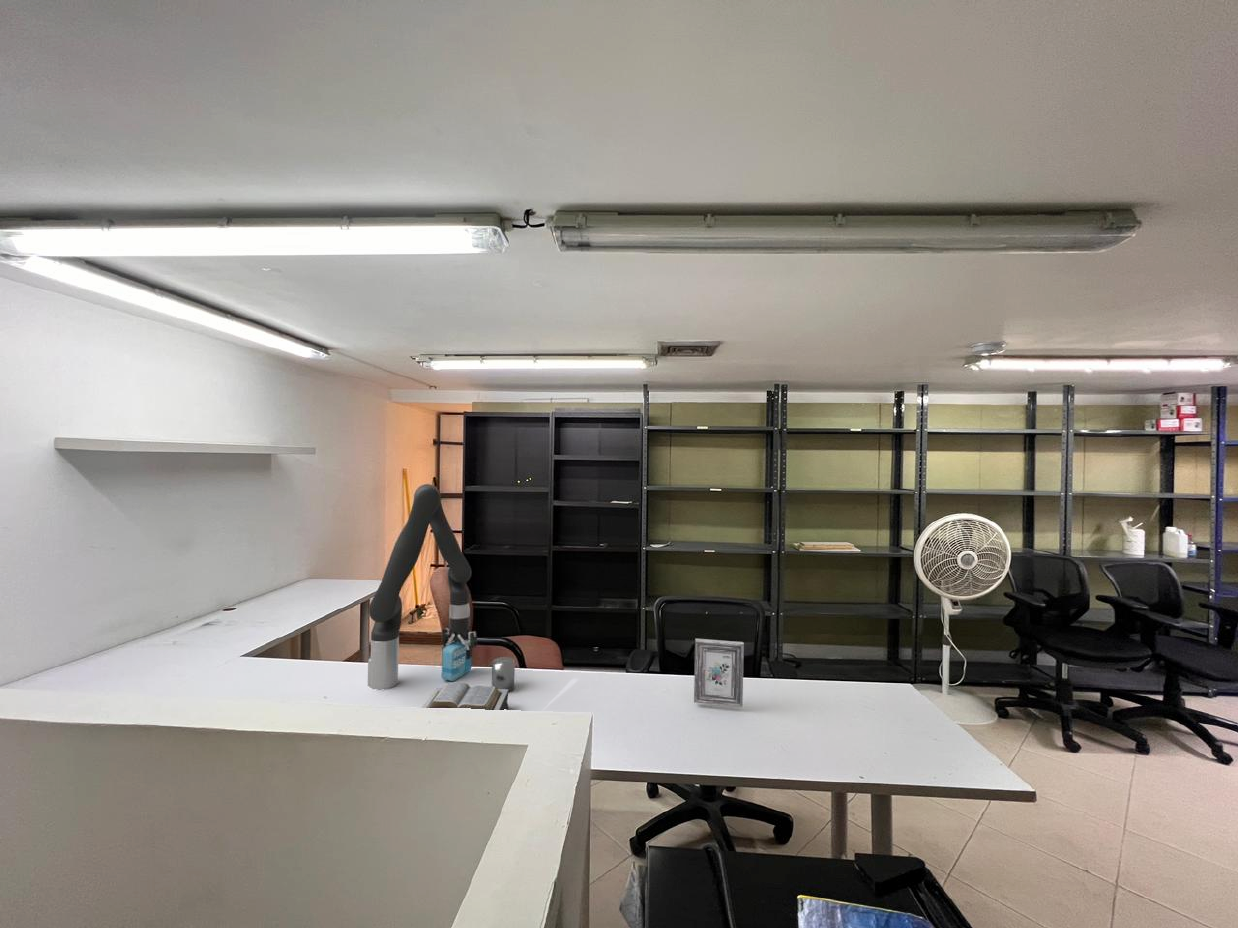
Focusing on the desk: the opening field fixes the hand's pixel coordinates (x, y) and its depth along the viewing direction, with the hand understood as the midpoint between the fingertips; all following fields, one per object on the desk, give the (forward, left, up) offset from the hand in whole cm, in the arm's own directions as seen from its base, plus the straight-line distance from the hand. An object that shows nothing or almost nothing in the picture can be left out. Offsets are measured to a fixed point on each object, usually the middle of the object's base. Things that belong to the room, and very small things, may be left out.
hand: (459, 657), depth 187 cm
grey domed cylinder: (+21, -4, -7) cm, 23 cm away
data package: (-1, 0, -7) cm, 7 cm away
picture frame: (+97, +12, -7) cm, 98 cm away
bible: (+21, -27, -8) cm, 36 cm away
